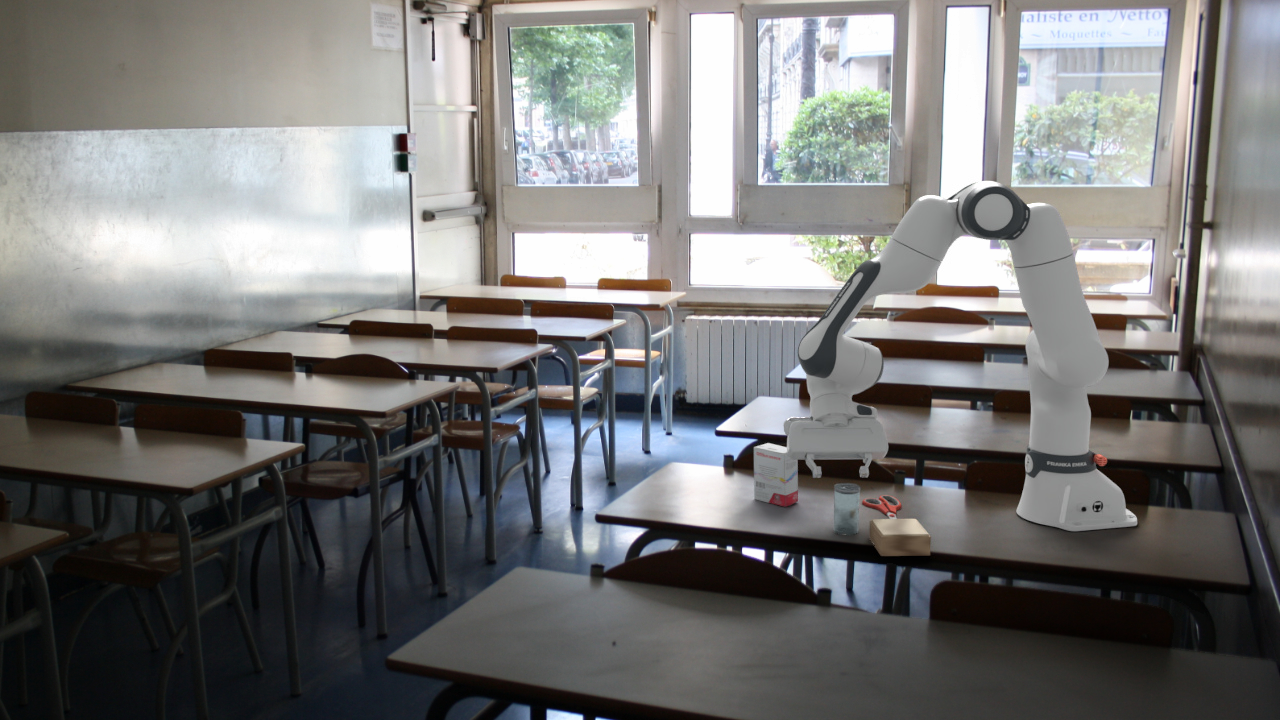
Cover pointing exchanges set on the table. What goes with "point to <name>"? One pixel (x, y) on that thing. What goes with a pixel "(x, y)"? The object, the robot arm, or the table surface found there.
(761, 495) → the ink box
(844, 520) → the translucent jar
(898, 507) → the scissors
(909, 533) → the beige box
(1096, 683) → the table surface
